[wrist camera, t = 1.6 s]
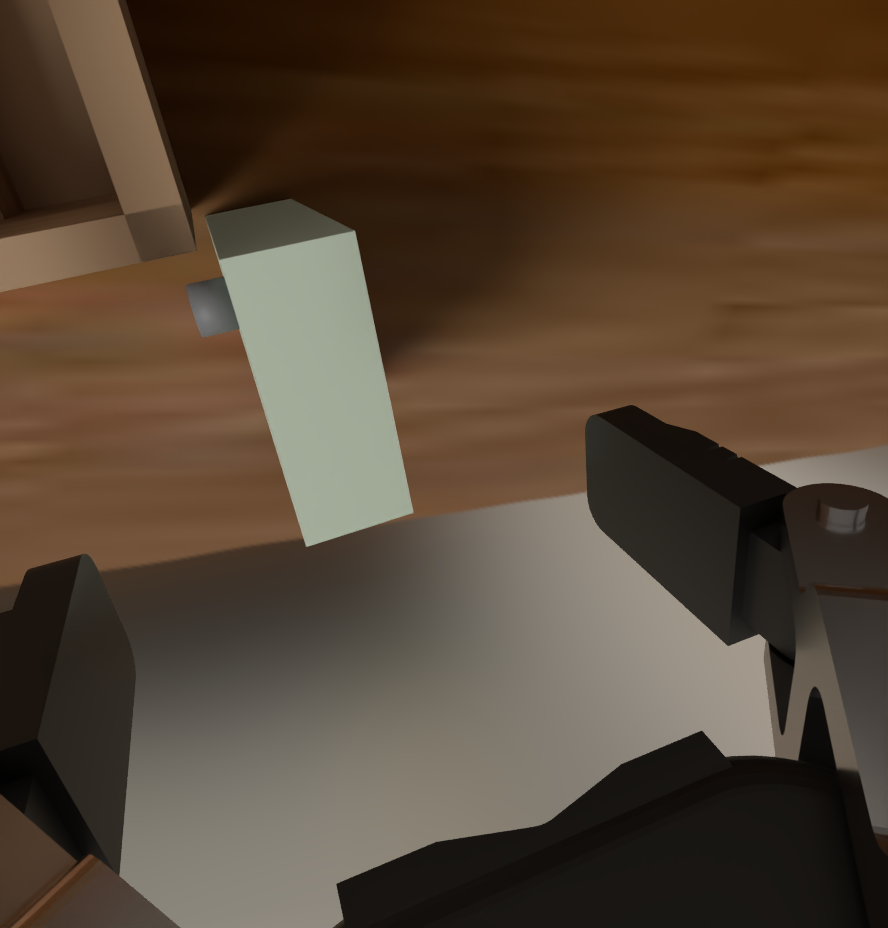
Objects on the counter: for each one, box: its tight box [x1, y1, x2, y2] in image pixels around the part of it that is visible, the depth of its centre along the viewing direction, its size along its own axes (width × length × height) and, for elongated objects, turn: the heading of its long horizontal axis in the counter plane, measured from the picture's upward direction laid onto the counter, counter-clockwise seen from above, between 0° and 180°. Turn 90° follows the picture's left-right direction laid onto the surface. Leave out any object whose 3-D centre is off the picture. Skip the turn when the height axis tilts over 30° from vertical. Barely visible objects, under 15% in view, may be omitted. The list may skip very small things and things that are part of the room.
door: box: [185, 199, 413, 547], centre depth 22 cm, size 4×8×11 cm, turn 9°
